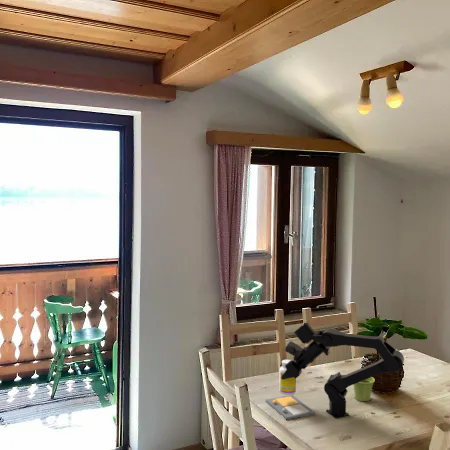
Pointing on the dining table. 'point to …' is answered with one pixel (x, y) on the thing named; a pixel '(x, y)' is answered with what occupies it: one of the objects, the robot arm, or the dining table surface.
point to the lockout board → (290, 407)
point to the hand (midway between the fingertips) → (284, 375)
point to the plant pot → (363, 389)
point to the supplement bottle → (286, 381)
